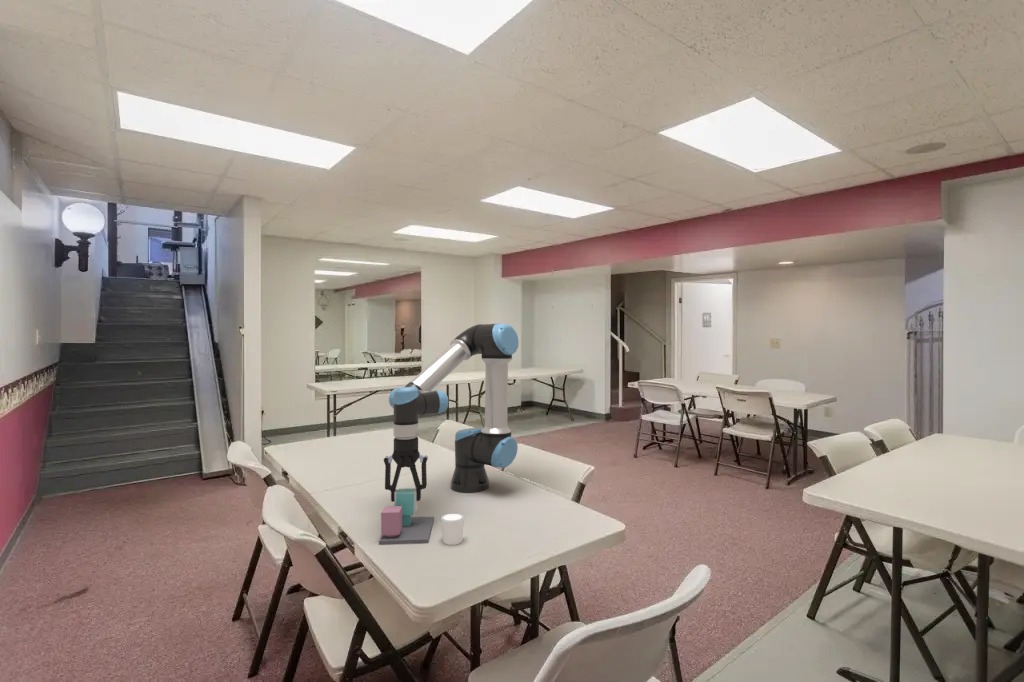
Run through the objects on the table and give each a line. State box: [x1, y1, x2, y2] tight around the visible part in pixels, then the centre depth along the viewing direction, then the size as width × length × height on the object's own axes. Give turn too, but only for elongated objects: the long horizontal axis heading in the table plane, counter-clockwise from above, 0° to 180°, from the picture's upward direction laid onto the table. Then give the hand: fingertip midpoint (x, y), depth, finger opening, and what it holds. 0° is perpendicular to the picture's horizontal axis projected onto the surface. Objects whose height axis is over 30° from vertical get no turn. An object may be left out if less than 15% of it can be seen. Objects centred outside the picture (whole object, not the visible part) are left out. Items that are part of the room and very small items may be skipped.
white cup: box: [440, 512, 465, 546], centre depth 140 cm, size 7×7×7 cm
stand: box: [378, 505, 435, 546], centre depth 147 cm, size 14×18×9 cm
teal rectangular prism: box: [396, 487, 416, 516], centre depth 149 cm, size 5×5×7 cm
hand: (406, 511), depth 150 cm, fingers closed on teal rectangular prism, 5 cm apart
